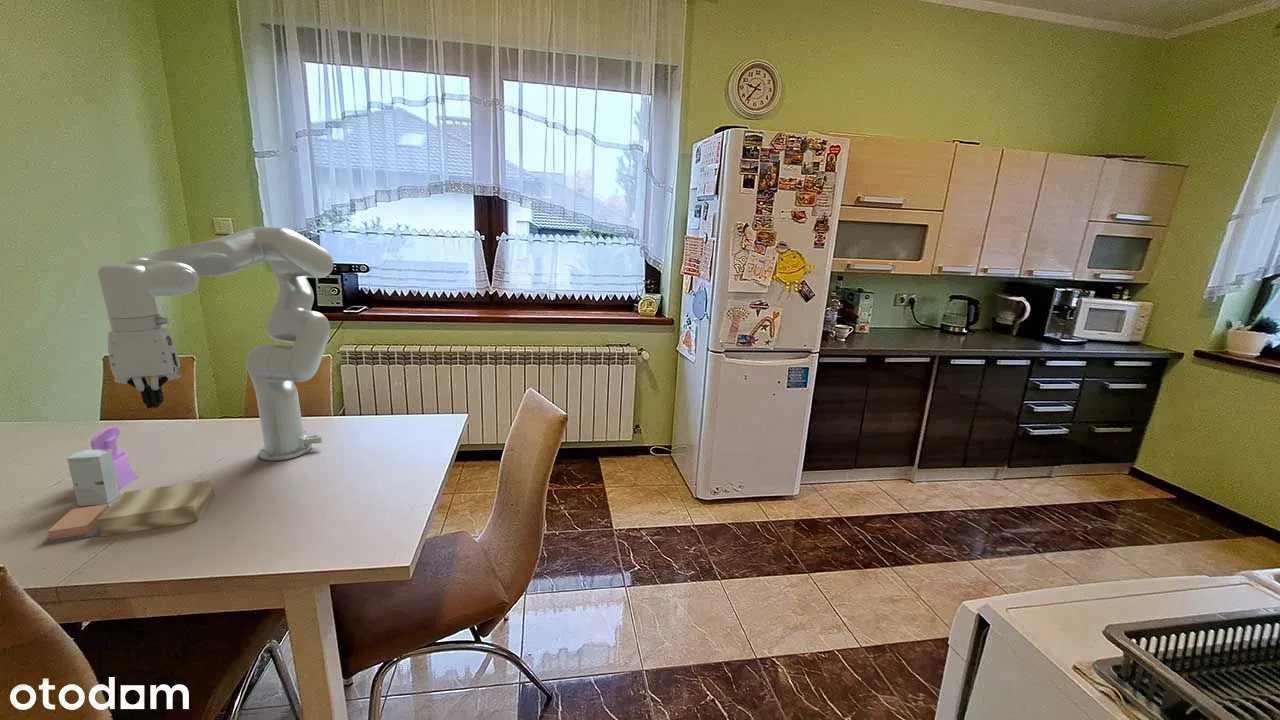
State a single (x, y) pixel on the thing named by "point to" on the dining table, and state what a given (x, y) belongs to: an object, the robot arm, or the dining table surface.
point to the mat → (92, 534)
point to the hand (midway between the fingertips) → (154, 405)
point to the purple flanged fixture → (115, 454)
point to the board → (156, 508)
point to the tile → (77, 522)
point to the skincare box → (94, 477)
